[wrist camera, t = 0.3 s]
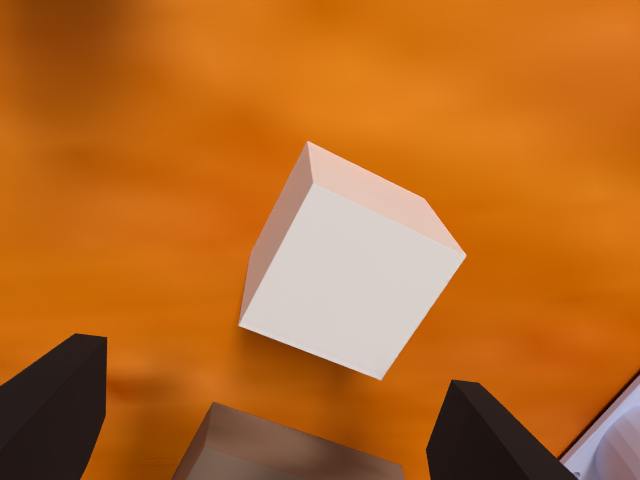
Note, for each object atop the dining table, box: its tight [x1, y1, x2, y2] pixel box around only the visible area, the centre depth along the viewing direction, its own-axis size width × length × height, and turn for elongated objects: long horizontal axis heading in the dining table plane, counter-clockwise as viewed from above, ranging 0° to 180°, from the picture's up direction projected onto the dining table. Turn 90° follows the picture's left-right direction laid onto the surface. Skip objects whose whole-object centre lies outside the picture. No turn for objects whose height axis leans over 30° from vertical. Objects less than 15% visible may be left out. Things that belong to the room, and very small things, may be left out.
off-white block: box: [238, 141, 466, 380], centre depth 17 cm, size 5×5×5 cm
